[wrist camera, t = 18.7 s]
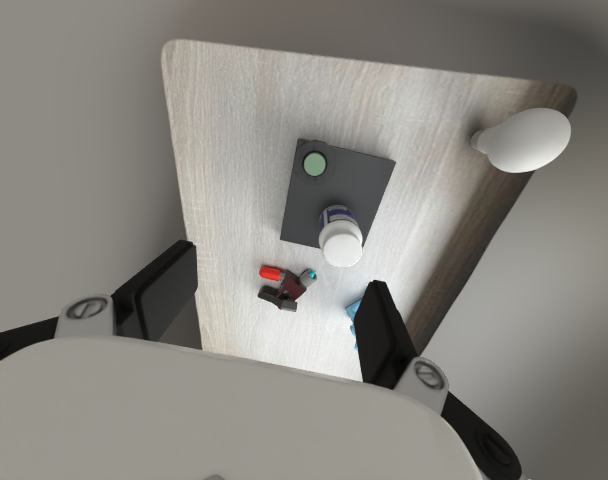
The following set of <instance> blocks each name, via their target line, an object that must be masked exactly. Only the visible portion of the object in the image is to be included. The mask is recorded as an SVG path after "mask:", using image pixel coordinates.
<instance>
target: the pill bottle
mask: <svg viewBox="0 0 608 480" xmlns="http://www.w3.org/2000/svg"><path fill="white" fill-rule="evenodd" d="M319 245H320V248H321V250H322V251H323V256H324V258H325V260H326V261H327V262H328V263H329V264H330V265H332V266H334V267H338V268H345V267H349V266H351V265H353V264H355V263H356V262H357V261H358V260H359V258H360V257H361V254H362V246H361V245H362V234H361V231H360V229H359V226H358V224H357V221H356V219H355V216H354V214H353V213H352V211H351V210H350V209H349V208H347V207H345V206H342V205H333V206H330V207H328V208H327V209H325V210H324V211H323V212H322V214H321V215H320V218H319Z"/></svg>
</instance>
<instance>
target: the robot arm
mask: <svg viewBox="0 0 608 480" xmlns="http://www.w3.org/2000/svg"><path fill="white" fill-rule="evenodd" d="M197 287H198V276H197V254H196V246H195V245H193V242H190V241H185V240H179V241H177V242H176V243H175V244H174V245H172V246H171V247H170V248H169V249H167V250H166V251H165V252H164V253H162V254H161V255H160V256H159V257H157V258H156V259H155V260H153V261H152V262H151V263H150V264H148V265H147V266H146V267H145V268H143V269H142V270H141V271H140V272H138V273H137V274H136V275H135V276H133V277H132V278H131V279H130V280H128V281H127V282H126V283H125V284H123V285H122V286H121V287H120V288H118V289H117V290H116V291H115V293H113V294H112V295H111V296H109V295H105V294H92V295H87V296H83V297H80V298H78V299H76V300H74V301H72V302H70V303H69V304H67V305H66V306H65V307H64V308H63V309H62V311H61V313H60V315H59V316H58V317H55V318H51V319H48V320H44V321H41V322H37V323H33V324H30V325H26V326H22V327H19V328H15V329H12V330H8V331H4V332H1V333H0V480H528V479H527V478H526V477H525V476H524V475H523V474H522V471H521V465H520V463H519V460H518V458H517V456H516V455H515V453H514V451H513V449H512V448H511V447H510V445H509V444H508V443H507V442H506V441H505V440H504V439H503V438H502V437H501V436H500V435H499V434H498V433H497V432H496V431H495V430H493V429H492V428H491V427H490V426H489V425H488V424H487V423H485V422H484V421H483V420H482V419H481V418H480V417H478V416H477V415H476V414H475V413H474V412H473V411H471V410H470V409H469V408H468V407H467V406H466V405H464V404H463V403H462V402H461V401H460V400H459V399H457V398H456V397H455V396H454V395H453V394H451V393H450V392H449V391H448V390H449V383H448V380H447V378H446V376H445V374H444V373H443V372H442V370H441V369H440V368H439V367H438V366H437V365H435V364H434V363H433V362H431V361H430V360H428V359H426V358H423V357H418V355H417V353H416V351H415V348H414V346H413V343H412V341H411V339H410V336H409V334H408V332H407V329H406V327H405V324H404V322H403V320H402V317H401V315H400V313H399V311H398V310H397V309H396V306H395V304H394V301H393V299H392V296H391V294H390V292H389V289H388V287H387V284H386V282H383V281H378V280H373V282H369V284H368V286H367V288H366V291H365V293H364V295H363V298H362V300H361V302H360V305H359V307H358V309H357V311H356V314H355V316H354V321H353V323H354V329H355V335H356V342H357V348H358V354H359V360H360V366H361V372H362V379H363V382H359V381H354V380H350V379H345V378H341V377H336V376H331V375H326V374H321V373H316V372H311V371H306V370H301V369H296V368H291V367H286V366H281V365H275V364H270V363H265V362H260V361H255V360H250V359H245V358H239V357H234V356H229V355H224V354H219V353H213V352H208V351H203V350H197V349H192V348H187V347H181V346H176V345H171V344H165V343H158V342H157V341H158V340H159V339H160V337H161V336H162V335H163V334H164V332H165V331H166V330H167V328H168V327H169V326H170V324H171V323H172V321H173V320H174V319H175V317H176V316H177V315H178V314H179V313H180V311H181V310H182V309H183V307H184V306H185V305H186V303H187V302H188V301H189V299H190V298H191V297H192V295H193V294H194V293H195V292H196V290H197ZM529 480H533V479H532V478H531V479H529Z"/></svg>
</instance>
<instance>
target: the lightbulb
mask: <svg viewBox="0 0 608 480" xmlns="http://www.w3.org/2000/svg"><path fill="white" fill-rule="evenodd" d="M570 134H571V127H570V124H569V121H568V120H567V118H566V117H565V116H564V115H563V114H562V113H560V112H558V111H555V110H553V109H548V108H535V109H528V110H525V111H522V112H519V113H517V114H515V115H513V116H511V117H509V118H508V119H506V120H505V121H504V122H502V123H501V124H500V125H499V126H494V127H490V128H488V129H482V130H479V131H477V132H476V133H475V134H474V135H473V136H472V138H471V141H470V145H471V147H472V148H473V149H476V150H479V151H481V152H482V153H485V154H487V156H488V158H489V160H490V162H491V163H492V164H493V165H494V166H496V167H497V168H499V169H500V170H503V171H506V172H513V173H517V172H526V171H531V170H535V169H537V168H540V167H542V166H544V165H546V164H547V163H549V162H551V161H552V160H553V159H555V158H556V157H557V156H558V155H559V154H560V153H561V152H562V151H563V150H564V148H565V147H566V145H567V144H568V141H569V139H570Z"/></svg>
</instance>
